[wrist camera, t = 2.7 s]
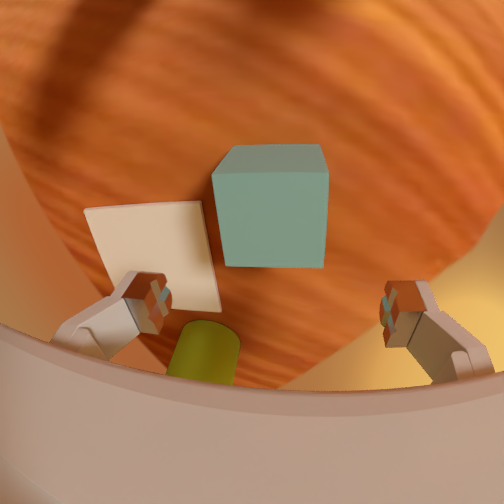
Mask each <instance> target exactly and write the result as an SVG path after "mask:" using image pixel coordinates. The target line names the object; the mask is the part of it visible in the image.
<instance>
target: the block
mask: <svg viewBox="0 0 504 504" xmlns="http://www.w3.org/2000/svg"><path fill="white" fill-rule="evenodd" d="M211 175H212V182H213V189H214V196H215V203H216V209H217V216H218V222H219V229H220V235H221V241H222V248H223V254H224V260H225V266H236V267H281V268H323V266H324V255H325V242H326V228H327V211H328V190H329V171H328V168H327V165H326V162H325V159H324V156H323V153H322V150H321V147H320V144H269V145H242V146H233V147H232V148H231V150H230V151H229V152H228V153H227V155H226V156H225V157H224V159H223V160H222V161H221V162H220V164H219V165H218V166H217V168H216V169H215V170H214V172H213V173H212V174H211Z"/></svg>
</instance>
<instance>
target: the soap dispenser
mask: <svg viewBox="0 0 504 504" xmlns="http://www.w3.org/2000/svg"><path fill="white" fill-rule="evenodd" d="M240 346H241V343H240V340H239V338H238V336H237V335H236V334H235V333H234V332H233V331H232V330H231V329H229V328H228V327H226V326H224V325H222V324H219V323H216V322H213V321H207V320H196V321H192V322H189V323H187V324H186V325H185V326H184V327H183V329H182V332H181V334H180V337H179V340H178V342H177V345H176V348H175V350H174V353H173V356H172V358H171V361H170V364H169V367H168V369H167V372H166V375H168V376H174V377H179V378H185V379H191V380H197V381H203V382H210V383H217V384H225V385H233V380H234V375H235V370H236V366H237V361H238V356H239V351H240Z"/></svg>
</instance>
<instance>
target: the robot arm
mask: <svg viewBox="0 0 504 504" xmlns="http://www.w3.org/2000/svg"><path fill="white" fill-rule="evenodd" d="M166 283H167V279H166V276H165V274H163V273H156V272H145V271H128V272H127V273H126V275H125V276H124V277H123V279H122V280H121V281H120V283H119V284H118V286H117V287H116V288H115V290H114V291H113V293H112V294H111V296H106V297H105V298H103V299H101V300H99V301H98V302H96V303H94V304H93V305H91V306H89V307H88V308H86V309H84V310H83V311H81V312H79V313H78V314H76V315H74V316H73V317H71V318H69V319H68V320H66V321H64V322H63V323H62V325H61V326H60V327H59V329H58V330H57V332H56V333H55V335H54V336H53V338H52V339H51V341H50V342H49V343H48V342H45V341H42V340H40V339H37V338H34V337H32V336H30V335H27V334H24V333H22V332H20V331H17V330H15V329H12V328H10V327H8V326H6V325H4V324H1V323H0V504H504V371H501V372H497V373H495V371H494V367H493V365H492V362H491V359H490V357H489V354H488V351H487V348H486V346H485V345H483V344H482V343H481V342H480V341H479V340H478V339H476V338H475V337H474V336H473V335H472V334H471V333H469V332H468V331H467V330H466V329H465V328H463V327H462V326H461V325H460V324H459V323H457V322H456V321H455V320H454V319H453V318H451V317H450V316H449V315H448V314H446V313H445V312H444V311H440V310H439V308H438V305H437V303H436V301H435V298H434V296H433V294H432V291H431V289H430V287H429V285H428V282H427V281H426V280H413V281H387V283H386V285H385V289H384V290H385V293H386V295H385V296H384V297H383V298H382V300H381V304H380V312H379V314H380V322H381V324H382V325H383V326H384V327H385V328H384V332H383V337H384V342H385V347H386V348H388V347H389V348H392V347H407V349H408V350H409V352H410V353H411V354H412V355H413V357H414V358H415V359H416V360H417V361H418V363H419V364H420V365H421V366H422V367H423V369H424V370H425V371H426V373H427V374H428V375H429V376H430V377H431V379H432V380H433V382H432V383H431V384H430V385H424V386H415V387H405V388H394V389H380V390H361V391H300V390H279V389H265V388H253V387H243V386H234V385H225V384H217V383H210V382H203V381H197V380H191V379H185V378H179V377H174V376H168V375H163V374H158V373H153V372H148V371H144V370H140V369H135V368H131V367H127V366H123V365H119V364H115V363H112V362H109V359H110V358H111V357H113V356H114V355H115V354H116V353H117V352H119V351H120V350H121V349H122V348H123V347H124V346H125V345H127V344H128V343H129V342H130V341H132V340H133V339H134V338H135V337H136V336H137V335H139V334H140V332H142V333H150V334H158V335H159V333H160V331H161V329H162V327H163V325H164V323H165V321H164V318H163V317H165V316H166V315H168V314H169V312H170V310H171V307H172V294H171V291H170V290H169V289H168V288H167V287H166V286H165V285H166Z"/></svg>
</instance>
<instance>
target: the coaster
mask: <svg viewBox="0 0 504 504" xmlns="http://www.w3.org/2000/svg"><path fill="white" fill-rule="evenodd" d="M84 214H85V216H86V219H87V222H88V225H89V227H90V230H91V233H92V235H93V238H94V241H95V243H96V246H97V248H98V251H99V253H100V256H101V258H102V260H103V263H104V265H105V267H106V270H107V272H108V274H109V277H110V279H111V281H112V283H113V285H114V288H116V287H117V286H118V284H119V283H120V281H121V280H122V279H123V277H124V276H125V275H126V273H127V272H128V271H145V272H156V273H163V274H165V276H166V279H167V283H166V285H165V286H166V287H167V288H168V289H169V290H170V291H171V294H172V307H171V309H182V310H194V311H207V312H222V306H221V301H220V296H219V291H218V287H217V282H216V277H215V272H214V267H213V262H212V257H211V251H210V246H209V241H208V235H207V230H206V225H205V219H204V214H203V208H202V202H201V201H180V202H161V203H144V204H130V205H116V206H104V207H93V208H86V209H85V210H84Z"/></svg>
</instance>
